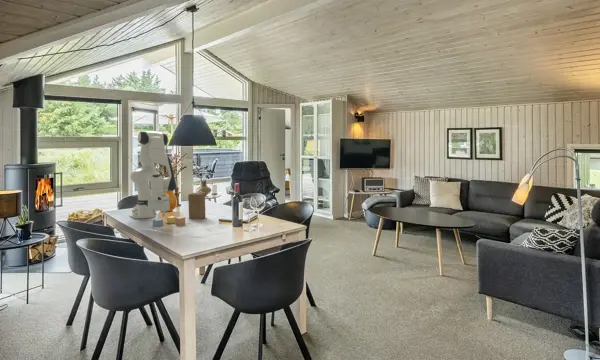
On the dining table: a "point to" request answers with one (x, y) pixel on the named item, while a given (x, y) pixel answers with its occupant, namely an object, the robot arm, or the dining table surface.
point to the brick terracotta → (180, 221)
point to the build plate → (180, 225)
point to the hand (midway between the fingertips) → (159, 216)
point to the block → (196, 205)
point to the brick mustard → (171, 219)
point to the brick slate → (157, 222)
